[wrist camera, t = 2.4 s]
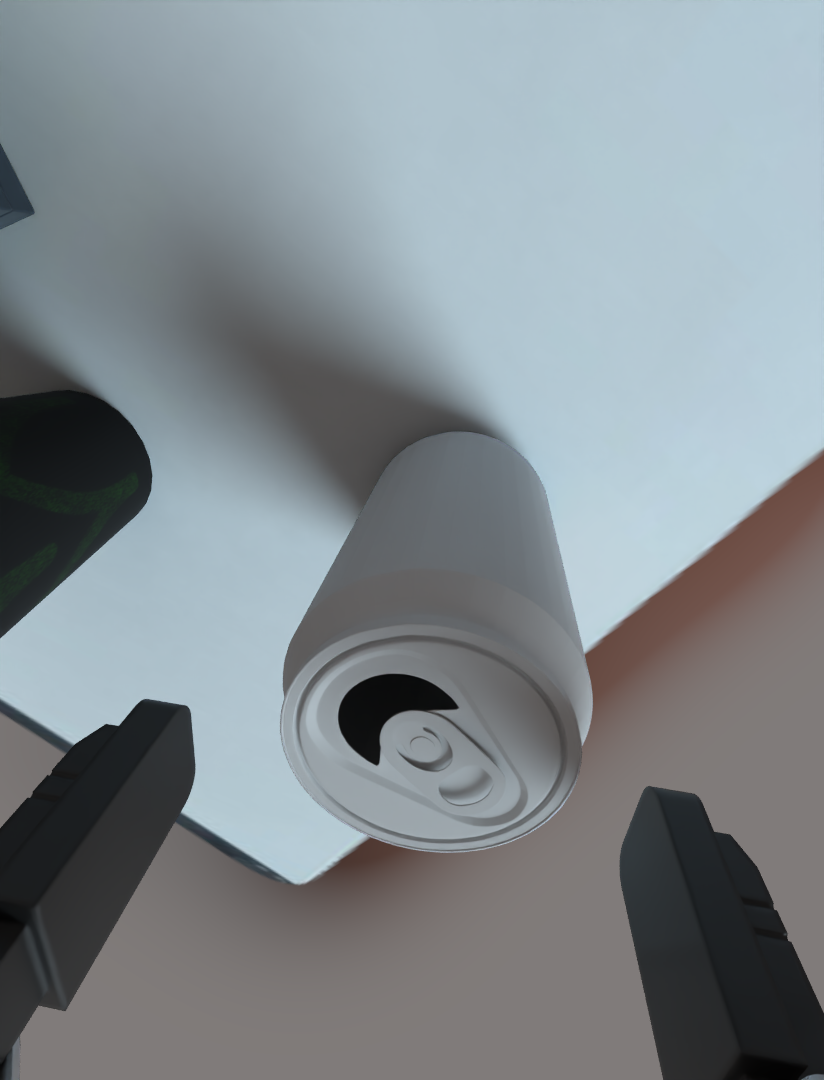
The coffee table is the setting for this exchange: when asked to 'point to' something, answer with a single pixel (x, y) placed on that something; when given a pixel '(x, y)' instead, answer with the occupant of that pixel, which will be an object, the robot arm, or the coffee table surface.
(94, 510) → the cup
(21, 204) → the open box
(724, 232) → the coffee table surface
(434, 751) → the beverage can
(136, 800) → the robot arm
